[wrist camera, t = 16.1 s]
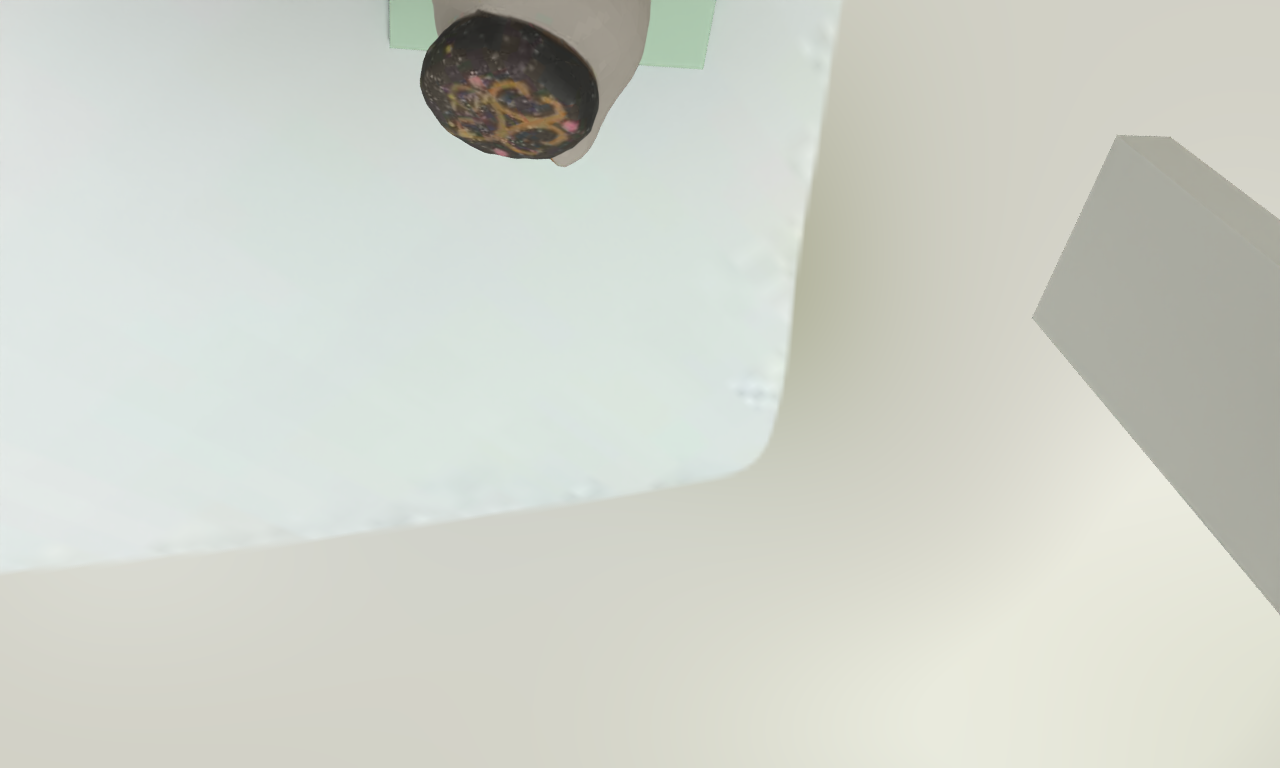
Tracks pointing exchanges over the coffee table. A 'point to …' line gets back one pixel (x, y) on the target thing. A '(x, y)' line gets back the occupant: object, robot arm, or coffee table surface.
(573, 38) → the figurine
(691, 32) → the pad
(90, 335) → the coffee table surface
